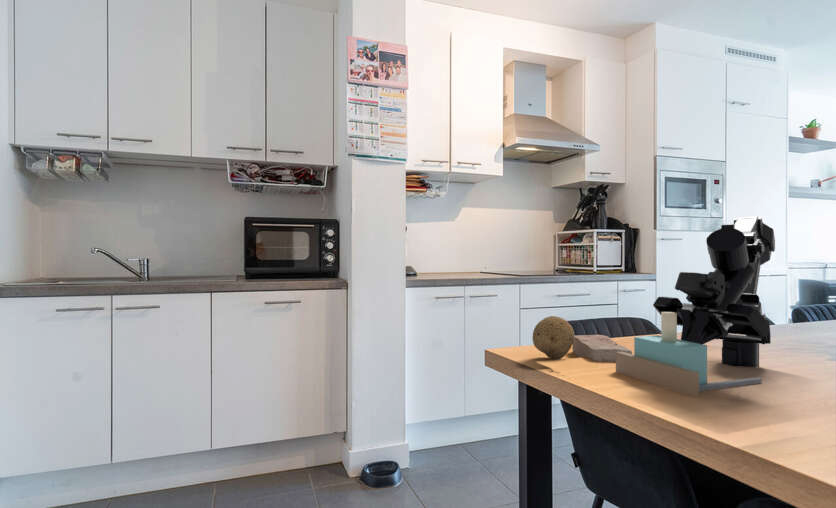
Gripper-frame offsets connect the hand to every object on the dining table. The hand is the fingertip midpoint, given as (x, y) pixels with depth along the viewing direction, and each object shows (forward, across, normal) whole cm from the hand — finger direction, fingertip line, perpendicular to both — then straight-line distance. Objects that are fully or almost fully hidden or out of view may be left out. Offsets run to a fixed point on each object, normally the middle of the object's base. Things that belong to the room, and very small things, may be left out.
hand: (682, 350), depth 80 cm
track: (+3, 0, +6) cm, 7 cm away
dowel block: (+6, 0, +1) cm, 6 cm away
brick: (+4, -22, +6) cm, 24 cm away
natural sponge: (+11, -26, -2) cm, 28 cm away
